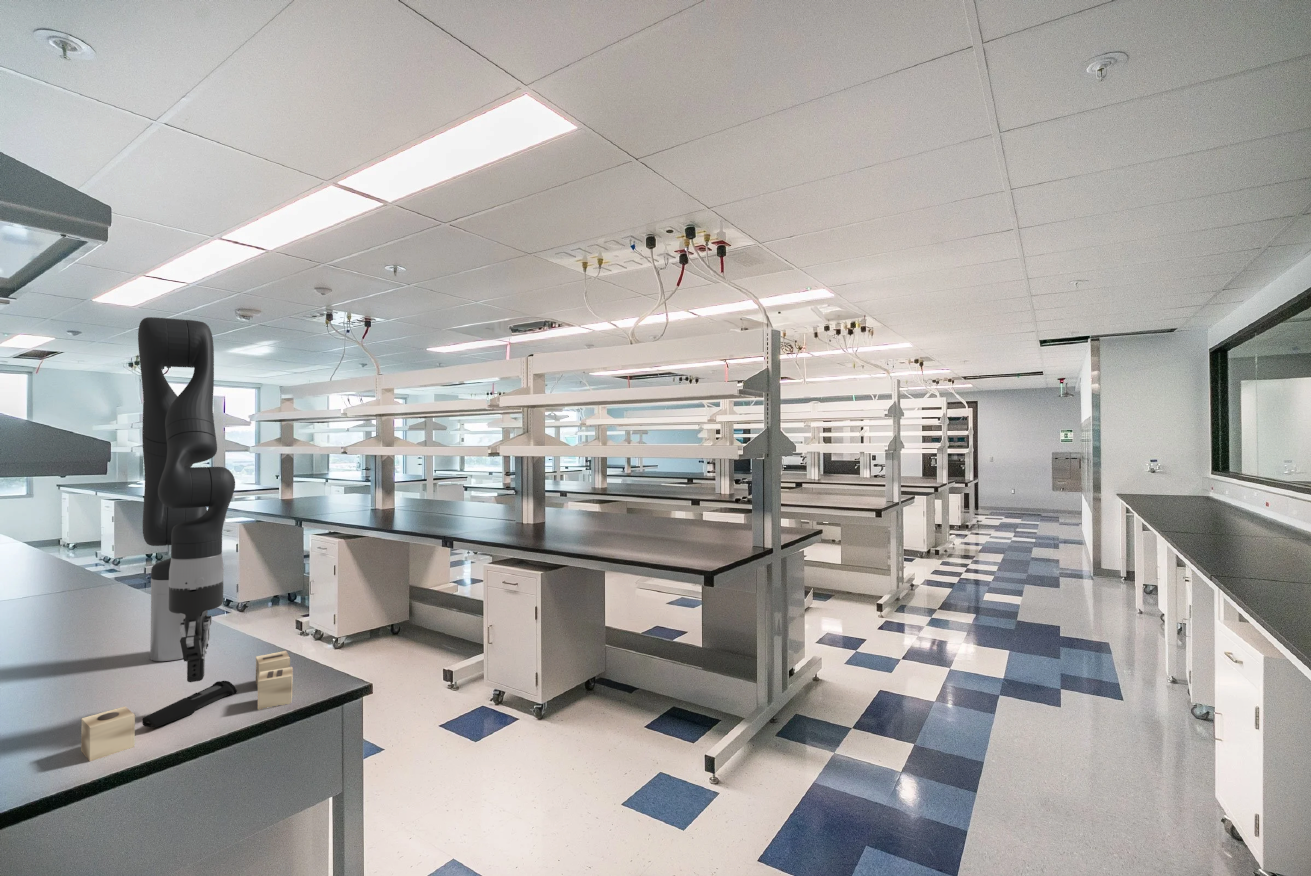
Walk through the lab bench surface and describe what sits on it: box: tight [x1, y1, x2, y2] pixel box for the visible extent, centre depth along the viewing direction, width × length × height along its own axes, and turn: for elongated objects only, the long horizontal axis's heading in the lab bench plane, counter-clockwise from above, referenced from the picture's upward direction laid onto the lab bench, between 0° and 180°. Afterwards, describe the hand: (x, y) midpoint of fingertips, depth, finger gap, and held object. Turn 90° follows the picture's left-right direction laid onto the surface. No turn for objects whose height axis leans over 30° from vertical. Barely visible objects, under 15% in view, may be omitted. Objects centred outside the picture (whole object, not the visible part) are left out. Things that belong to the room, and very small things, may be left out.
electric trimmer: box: [141, 680, 238, 728], centre depth 102 cm, size 4×16×3 cm, turn 170°
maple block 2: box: [255, 650, 291, 688], centre depth 114 cm, size 5×5×5 cm
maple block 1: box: [80, 705, 136, 762], centre depth 89 cm, size 5×5×5 cm
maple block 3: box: [257, 666, 294, 711], centre depth 105 cm, size 5×5×5 cm
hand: (195, 679), depth 102 cm, fingers closed
